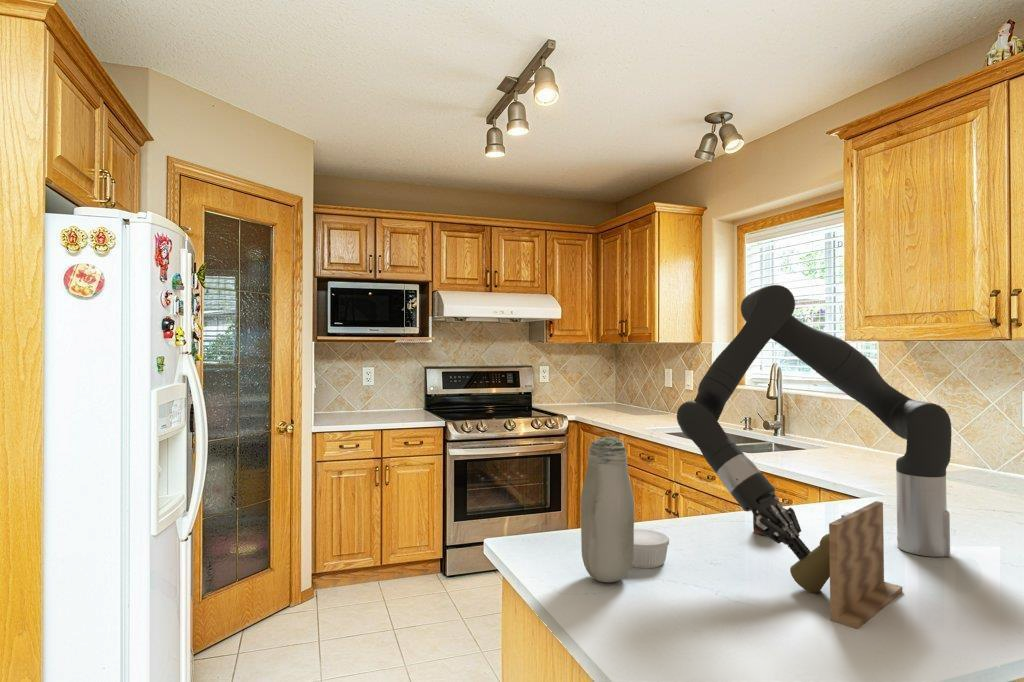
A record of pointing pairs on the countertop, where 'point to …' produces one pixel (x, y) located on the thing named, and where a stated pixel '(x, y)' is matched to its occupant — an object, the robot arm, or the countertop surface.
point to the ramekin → (649, 548)
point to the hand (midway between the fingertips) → (807, 558)
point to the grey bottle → (607, 512)
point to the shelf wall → (858, 567)
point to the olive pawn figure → (813, 568)
